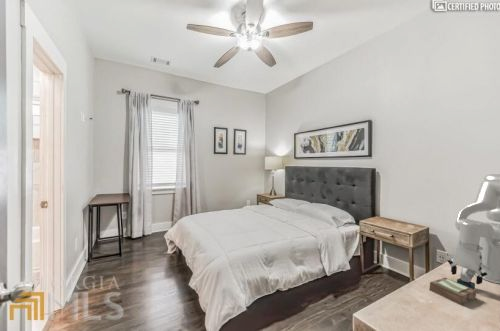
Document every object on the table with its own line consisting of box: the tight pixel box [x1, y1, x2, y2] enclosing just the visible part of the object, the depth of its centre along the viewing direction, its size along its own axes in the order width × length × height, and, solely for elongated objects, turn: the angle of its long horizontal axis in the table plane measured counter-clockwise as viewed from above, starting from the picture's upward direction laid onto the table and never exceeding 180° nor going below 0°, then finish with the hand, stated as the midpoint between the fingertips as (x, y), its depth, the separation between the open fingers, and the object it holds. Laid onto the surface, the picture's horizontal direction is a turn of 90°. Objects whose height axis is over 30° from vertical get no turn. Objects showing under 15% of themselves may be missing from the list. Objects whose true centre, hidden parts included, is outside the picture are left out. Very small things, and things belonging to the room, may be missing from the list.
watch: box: [456, 267, 476, 290], centre depth 114 cm, size 6×8×11 cm
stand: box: [429, 277, 477, 306], centre depth 106 cm, size 14×12×4 cm
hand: (465, 278), depth 114 cm, fingers open, 9 cm apart
